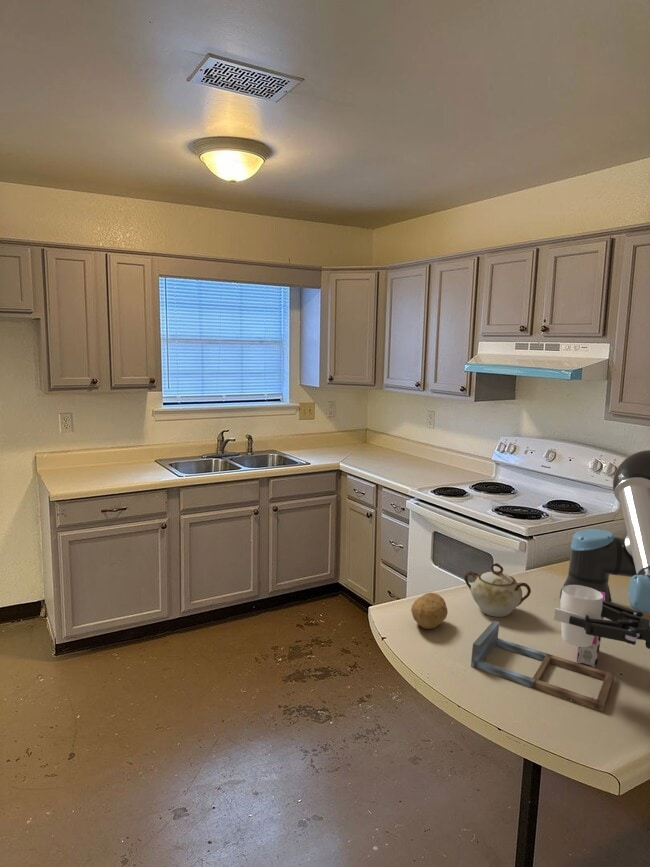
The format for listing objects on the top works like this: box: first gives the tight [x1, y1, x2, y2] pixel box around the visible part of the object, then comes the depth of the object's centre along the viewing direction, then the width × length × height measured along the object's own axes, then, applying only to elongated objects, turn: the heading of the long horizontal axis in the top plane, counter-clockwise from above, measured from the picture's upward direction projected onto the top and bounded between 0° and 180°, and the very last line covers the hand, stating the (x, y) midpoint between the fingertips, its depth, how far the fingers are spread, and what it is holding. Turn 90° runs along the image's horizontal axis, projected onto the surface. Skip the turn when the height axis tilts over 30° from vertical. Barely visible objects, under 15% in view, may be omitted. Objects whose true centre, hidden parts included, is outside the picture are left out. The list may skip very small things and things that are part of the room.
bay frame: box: [470, 620, 615, 713], centre depth 144 cm, size 30×16×6 cm, turn 56°
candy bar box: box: [576, 591, 605, 669], centre depth 153 cm, size 11×5×16 cm, turn 155°
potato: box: [410, 592, 449, 630], centre depth 166 cm, size 10×14×8 cm
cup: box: [559, 585, 603, 648], centre depth 138 cm, size 9×9×12 cm
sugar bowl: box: [464, 562, 532, 618], centre depth 177 cm, size 20×15×15 cm
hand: (559, 606), depth 141 cm, fingers closed on cup, 9 cm apart
